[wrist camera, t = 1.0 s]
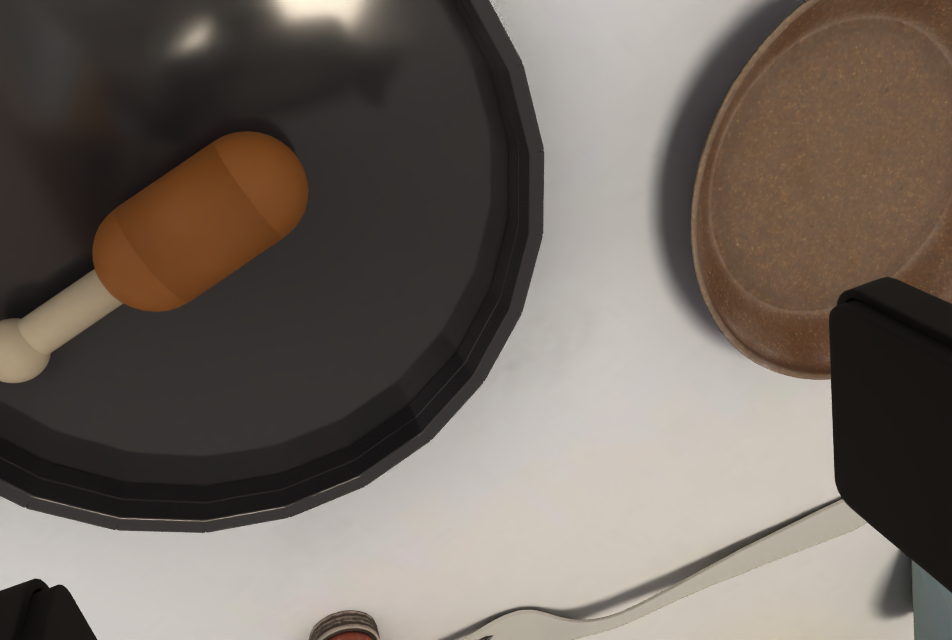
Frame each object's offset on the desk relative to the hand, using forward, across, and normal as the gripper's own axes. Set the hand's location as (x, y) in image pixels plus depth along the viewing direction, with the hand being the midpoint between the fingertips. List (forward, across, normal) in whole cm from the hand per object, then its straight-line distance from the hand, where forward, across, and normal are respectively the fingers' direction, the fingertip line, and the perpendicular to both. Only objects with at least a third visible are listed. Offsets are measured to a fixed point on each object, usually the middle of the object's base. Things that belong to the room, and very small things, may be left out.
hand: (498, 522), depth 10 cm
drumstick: (+18, +5, 0) cm, 18 cm away
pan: (+18, +4, 0) cm, 19 cm away
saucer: (+18, -18, +5) cm, 26 cm away
